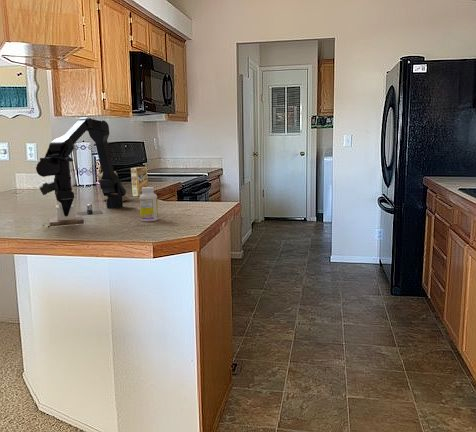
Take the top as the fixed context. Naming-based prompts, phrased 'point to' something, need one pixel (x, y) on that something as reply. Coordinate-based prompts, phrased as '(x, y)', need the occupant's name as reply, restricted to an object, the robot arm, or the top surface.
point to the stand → (89, 211)
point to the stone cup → (115, 193)
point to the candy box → (139, 180)
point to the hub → (66, 221)
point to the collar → (61, 214)
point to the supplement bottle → (148, 205)
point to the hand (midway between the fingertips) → (65, 214)
